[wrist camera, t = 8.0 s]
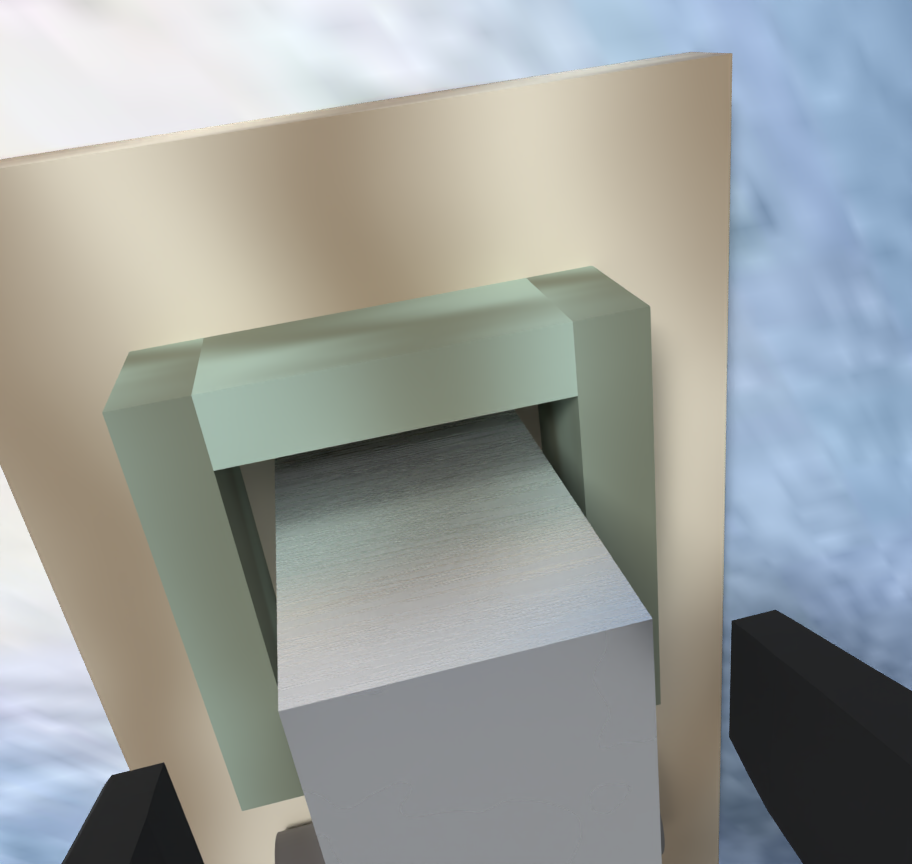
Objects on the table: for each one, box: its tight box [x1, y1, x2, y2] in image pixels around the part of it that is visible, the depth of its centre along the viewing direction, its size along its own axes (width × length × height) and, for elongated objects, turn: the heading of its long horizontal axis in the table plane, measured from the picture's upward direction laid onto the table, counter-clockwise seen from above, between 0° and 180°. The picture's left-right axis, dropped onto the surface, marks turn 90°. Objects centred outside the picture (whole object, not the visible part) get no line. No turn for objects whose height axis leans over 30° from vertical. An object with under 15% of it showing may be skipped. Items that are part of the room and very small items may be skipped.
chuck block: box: [0, 52, 732, 864], centre depth 17 cm, size 13×20×4 cm, turn 7°
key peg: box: [275, 409, 662, 864], centre depth 13 cm, size 4×4×7 cm
